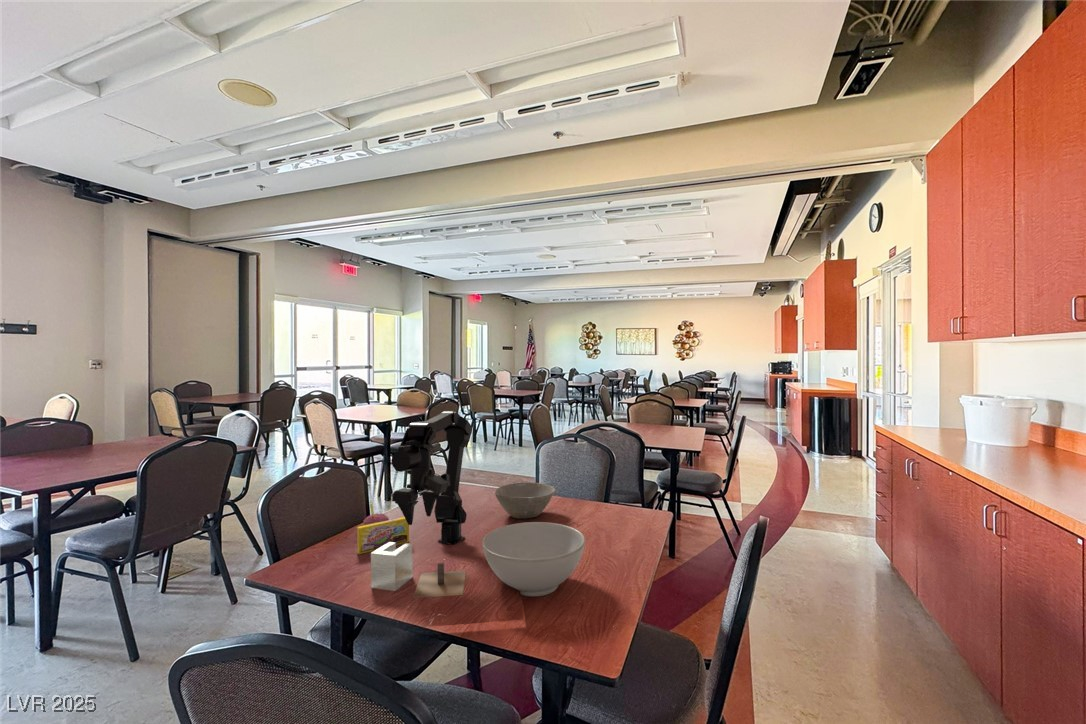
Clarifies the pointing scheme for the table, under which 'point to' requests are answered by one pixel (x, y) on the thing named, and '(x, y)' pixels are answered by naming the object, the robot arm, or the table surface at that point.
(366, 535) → the candy box
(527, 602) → the table surface
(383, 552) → the c link
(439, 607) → the table surface
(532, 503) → the ceramic bowl
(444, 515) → the robot arm
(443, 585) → the peg stand
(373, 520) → the pink sprinkled cake pop
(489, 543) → the decorative bowl
